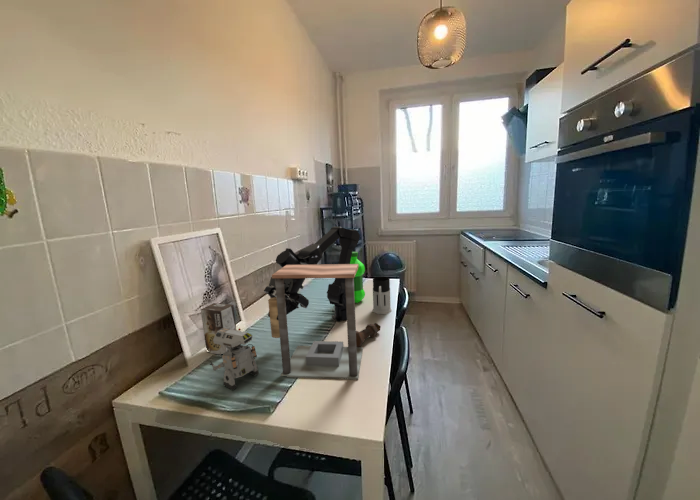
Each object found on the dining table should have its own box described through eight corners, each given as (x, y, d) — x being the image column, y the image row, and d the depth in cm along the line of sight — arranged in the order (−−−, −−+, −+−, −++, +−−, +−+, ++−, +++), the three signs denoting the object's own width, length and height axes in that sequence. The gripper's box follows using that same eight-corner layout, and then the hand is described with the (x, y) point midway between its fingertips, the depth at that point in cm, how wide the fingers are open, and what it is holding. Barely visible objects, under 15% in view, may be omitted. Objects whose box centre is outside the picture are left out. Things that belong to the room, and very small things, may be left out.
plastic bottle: (342, 299, 151) (339, 252, 147) (360, 296, 155) (358, 249, 151) (350, 305, 142) (348, 255, 138) (369, 302, 146) (368, 252, 142)
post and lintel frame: (298, 347, 104) (291, 261, 98) (362, 348, 101) (359, 260, 95) (280, 376, 87) (271, 274, 81) (358, 379, 84) (354, 274, 78)
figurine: (238, 365, 94) (233, 321, 91) (262, 376, 87) (257, 329, 85) (211, 380, 86) (205, 332, 84) (235, 393, 80) (229, 342, 77)
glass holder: (391, 307, 138) (391, 276, 135) (390, 319, 124) (390, 285, 122) (373, 306, 140) (372, 276, 137) (370, 318, 126) (369, 285, 123)
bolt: (379, 336, 113) (357, 350, 101) (369, 328, 115) (346, 340, 103) (385, 325, 111) (363, 338, 99) (375, 316, 113) (353, 328, 101)
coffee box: (239, 347, 106) (234, 304, 103) (226, 356, 100) (221, 311, 97) (219, 343, 109) (213, 302, 106) (205, 352, 103) (199, 308, 100)
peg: (270, 334, 103) (267, 298, 101) (283, 331, 105) (279, 296, 102) (273, 339, 99) (269, 302, 97) (286, 336, 101) (282, 299, 98)
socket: (314, 350, 101) (313, 340, 100) (343, 351, 100) (343, 341, 99) (306, 367, 91) (305, 356, 90) (339, 368, 90) (338, 357, 89)
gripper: (265, 264, 107) (241, 302, 100) (299, 270, 95) (274, 313, 88) (284, 280, 114) (263, 316, 108) (318, 287, 102) (296, 328, 96)
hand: (273, 318), depth 100 cm, fingers closed on peg, 4 cm apart
